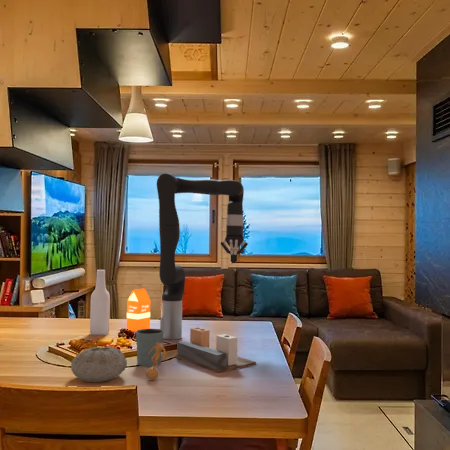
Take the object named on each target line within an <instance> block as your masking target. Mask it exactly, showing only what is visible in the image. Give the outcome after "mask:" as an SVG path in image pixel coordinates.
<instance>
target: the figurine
mask: <svg viewBox="0 0 450 450" xmlns="http://www.w3.org/2000/svg"><path fill="white" fill-rule="evenodd" d="M154 348H155V349H156V353H154V356H153V357H152V358H151V360H152V362H153V363H154V364H153V365H152V367H148V369H147V371H146V374H145V375H146V378H147V379H148V380H149V381H155V380H157V379H158V377H159V370H158V369H157V365H158V362H157V360H158V359H159V357H160V352H161V353H162V351H163V356H162V358H161V361H165V359H166V358H165V357H166V352H167V351H166V349H165V347H164V344H163V343H162V344H160V343H158V342H157V343H156V346H154V347H153V348H152V349H151V350H150V352H151V351H152V350H153V349H154ZM150 352H149V353H150ZM148 355H149V354H148ZM154 359H155V361H154ZM155 362H156V366H154V365H155ZM158 366H159V365H158Z"/></svg>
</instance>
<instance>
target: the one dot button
mask: <svg viewBox="0 0 450 450" xmlns="http://www.w3.org/2000/svg"><path fill="white" fill-rule="evenodd" d="M215 338H216V342H215V345H216V346H215V349H216V350H218V351H221V352H225V353H227V365H228V366H229V365H234V364H237V356H238V337H237V336H233V335H229V334H227V333H224V334H217V335H216V337H215Z"/></svg>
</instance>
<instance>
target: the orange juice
mask: <svg viewBox="0 0 450 450" xmlns="http://www.w3.org/2000/svg"><path fill="white" fill-rule="evenodd" d="M127 329H128V330H127ZM140 329H151V299H150V296H149V294H148V292H147V290H146V288H137V289H133V290H132V291H131V293H130V295H129V297H128V298H127V299H126V330H127V331H129V330H131V332H135V333H136V331H137V330H140Z"/></svg>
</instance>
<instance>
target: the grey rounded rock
mask: <svg viewBox="0 0 450 450" xmlns="http://www.w3.org/2000/svg"><path fill="white" fill-rule="evenodd" d="M127 361H128V360H127V358H126V356H125V355H124V353H123V352H122V350H121V349H119V348H116V346H115V347H112V346H93V347H89V348H86V349H84V350H82V351H81V352H80V353H78V354H76V355H75V357H74V358H73V359H72V360H71V365H70V369H71V372H72V374H74V376H75V377H76V378H78V379H79V380H81V381H83V382H87V383H95V382H100V383H101V382H106V381H110V380H113V379H115V378H117V377H118V376H120V375H121V374H122V373H123V372H124V371H125V370H126V368H127V367H128V362H127Z"/></svg>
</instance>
